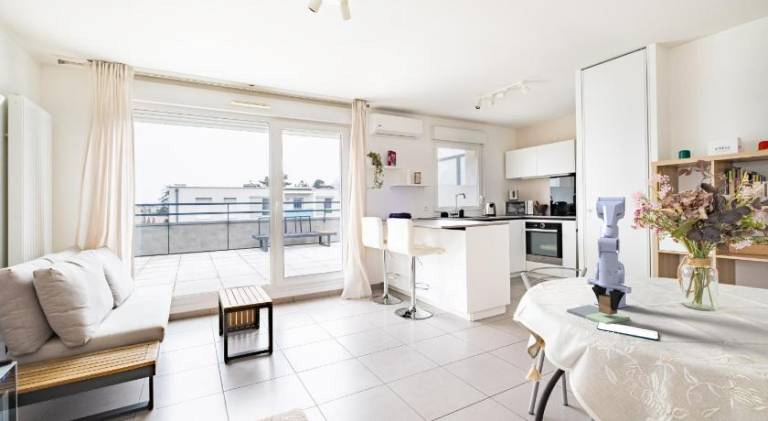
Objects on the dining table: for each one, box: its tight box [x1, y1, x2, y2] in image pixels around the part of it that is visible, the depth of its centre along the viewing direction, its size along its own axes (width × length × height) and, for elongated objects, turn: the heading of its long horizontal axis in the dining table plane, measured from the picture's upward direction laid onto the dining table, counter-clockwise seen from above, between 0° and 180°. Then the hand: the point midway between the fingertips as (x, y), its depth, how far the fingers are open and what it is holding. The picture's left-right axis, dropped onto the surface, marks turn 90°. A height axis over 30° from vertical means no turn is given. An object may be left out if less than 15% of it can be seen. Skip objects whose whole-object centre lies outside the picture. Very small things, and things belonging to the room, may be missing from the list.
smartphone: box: [596, 322, 659, 342], centre depth 111 cm, size 8×1×16 cm
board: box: [566, 304, 630, 324], centre depth 125 cm, size 13×15×1 cm
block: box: [598, 294, 618, 315], centre depth 122 cm, size 4×4×6 cm
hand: (608, 308), depth 122 cm, fingers closed on block, 4 cm apart
